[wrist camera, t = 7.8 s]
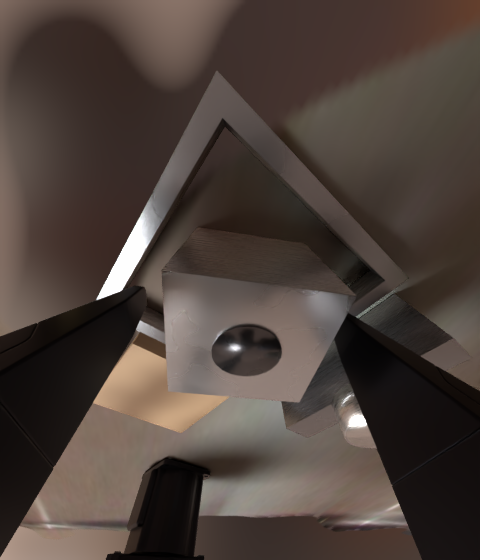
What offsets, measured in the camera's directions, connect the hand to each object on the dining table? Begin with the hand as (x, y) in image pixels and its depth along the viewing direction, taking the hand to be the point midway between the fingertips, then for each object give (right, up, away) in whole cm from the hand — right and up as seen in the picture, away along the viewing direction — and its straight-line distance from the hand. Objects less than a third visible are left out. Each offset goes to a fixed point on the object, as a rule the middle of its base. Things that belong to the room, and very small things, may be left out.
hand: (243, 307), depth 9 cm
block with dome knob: (0, +1, +2) cm, 2 cm away
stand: (-6, -7, +6) cm, 11 cm away
